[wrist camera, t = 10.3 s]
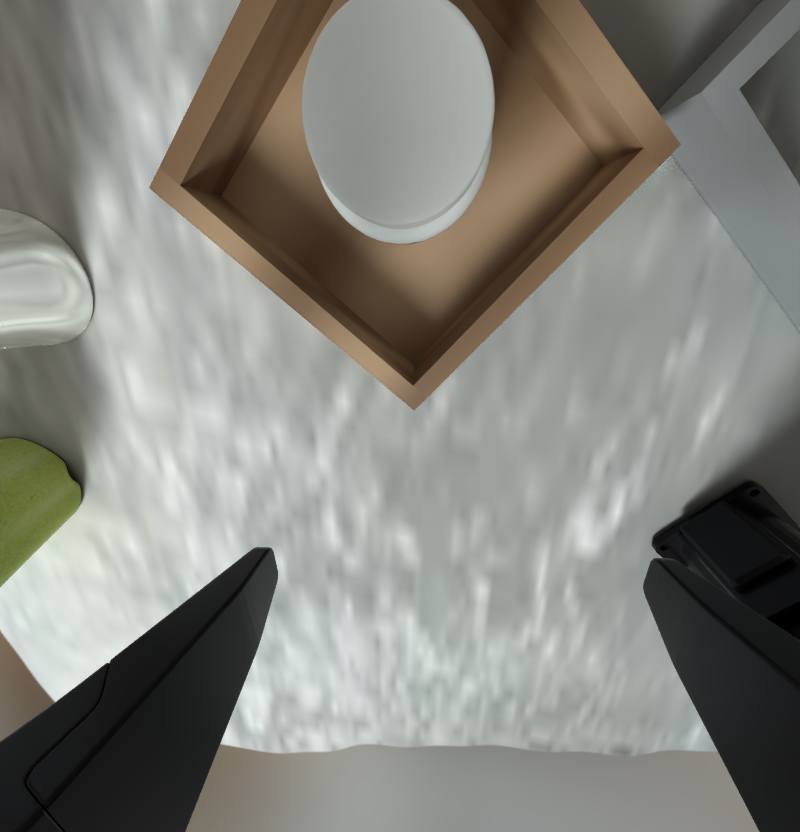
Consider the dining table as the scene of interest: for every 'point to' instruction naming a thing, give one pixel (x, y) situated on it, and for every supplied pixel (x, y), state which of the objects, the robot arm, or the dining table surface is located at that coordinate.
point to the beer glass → (39, 285)
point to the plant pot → (31, 501)
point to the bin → (743, 151)
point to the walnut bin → (454, 247)
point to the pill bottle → (399, 116)
